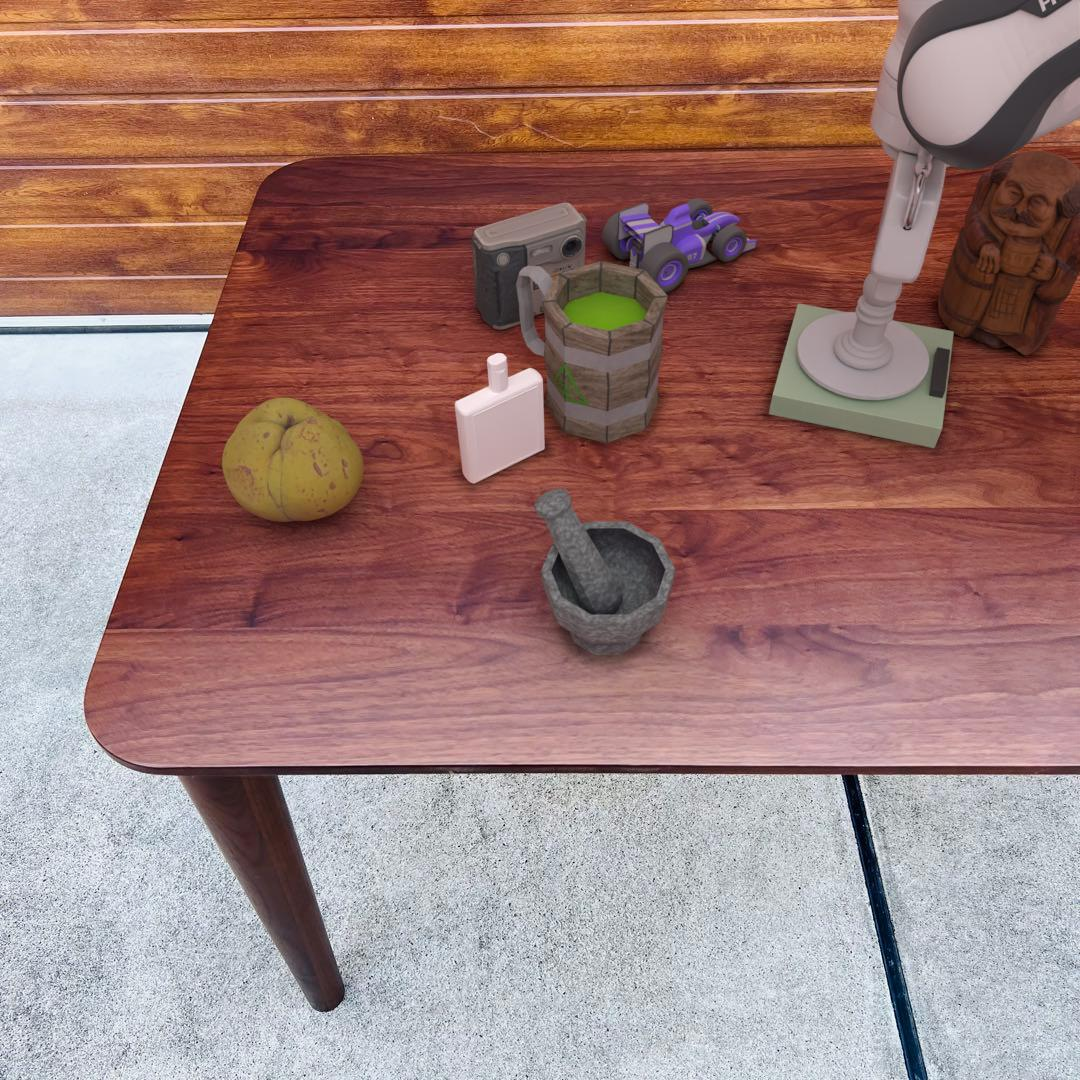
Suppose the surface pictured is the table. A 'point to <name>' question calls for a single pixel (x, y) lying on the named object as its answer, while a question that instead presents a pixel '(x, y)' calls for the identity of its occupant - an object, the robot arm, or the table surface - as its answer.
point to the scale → (864, 379)
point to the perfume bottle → (500, 421)
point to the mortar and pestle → (602, 577)
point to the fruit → (291, 462)
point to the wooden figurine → (1015, 253)
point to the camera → (523, 258)
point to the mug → (597, 346)
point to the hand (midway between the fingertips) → (891, 263)
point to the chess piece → (868, 331)
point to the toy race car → (674, 240)
